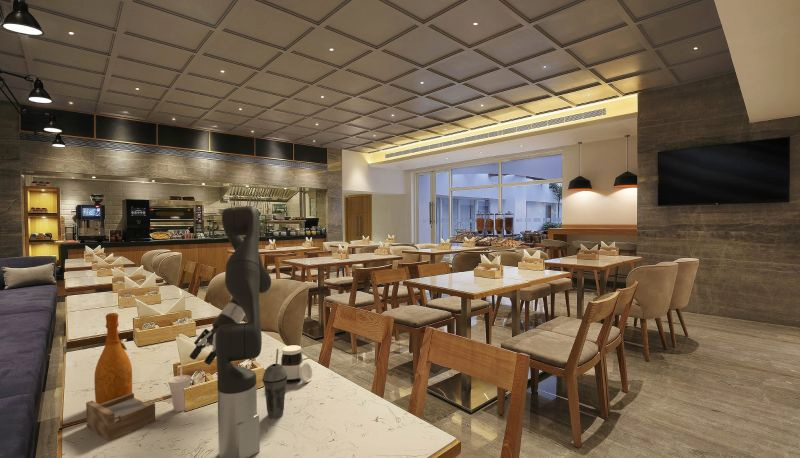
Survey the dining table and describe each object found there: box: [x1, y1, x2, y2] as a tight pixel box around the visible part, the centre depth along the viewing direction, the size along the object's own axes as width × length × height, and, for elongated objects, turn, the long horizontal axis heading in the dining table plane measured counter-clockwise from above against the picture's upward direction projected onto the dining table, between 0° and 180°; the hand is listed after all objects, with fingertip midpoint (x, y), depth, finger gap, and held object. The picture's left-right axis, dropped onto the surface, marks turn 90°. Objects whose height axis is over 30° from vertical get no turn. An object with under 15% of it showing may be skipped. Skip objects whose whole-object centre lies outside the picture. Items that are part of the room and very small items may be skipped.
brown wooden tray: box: [85, 392, 156, 441], centre depth 114 cm, size 14×12×7 cm
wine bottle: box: [93, 312, 133, 404], centre depth 126 cm, size 10×10×30 cm
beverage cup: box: [262, 348, 287, 419], centre depth 119 cm, size 7×7×20 cm
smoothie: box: [167, 364, 192, 413], centre depth 123 cm, size 6×6×14 cm
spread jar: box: [280, 344, 313, 384], centre depth 145 cm, size 12×11×12 cm
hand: (199, 360), depth 128 cm, fingers open, 8 cm apart
